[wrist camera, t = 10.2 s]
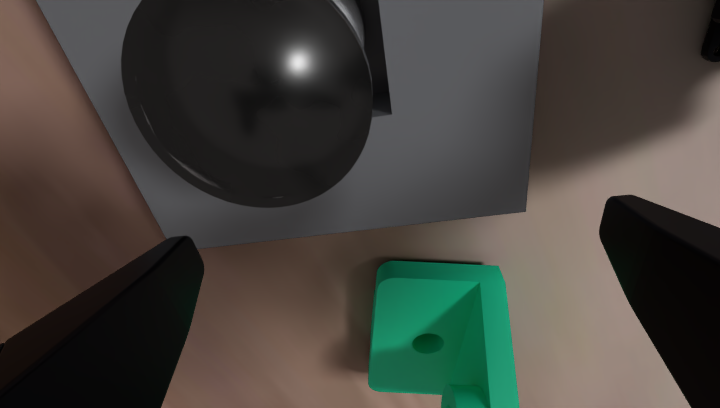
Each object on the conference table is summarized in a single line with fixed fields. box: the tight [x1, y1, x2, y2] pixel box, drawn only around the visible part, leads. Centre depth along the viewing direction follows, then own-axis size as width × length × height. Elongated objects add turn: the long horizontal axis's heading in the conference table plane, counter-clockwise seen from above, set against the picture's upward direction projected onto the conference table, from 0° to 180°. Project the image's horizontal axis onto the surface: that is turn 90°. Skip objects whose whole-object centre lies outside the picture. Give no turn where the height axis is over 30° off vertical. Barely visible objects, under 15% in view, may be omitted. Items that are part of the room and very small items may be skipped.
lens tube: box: [121, 0, 373, 208], centre depth 13 cm, size 6×6×10 cm
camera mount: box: [368, 261, 519, 408], centre depth 25 cm, size 12×8×10 cm, turn 177°
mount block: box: [36, 0, 544, 249], centre depth 16 cm, size 18×18×4 cm
